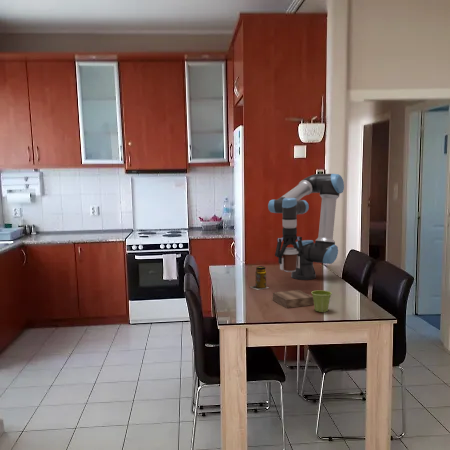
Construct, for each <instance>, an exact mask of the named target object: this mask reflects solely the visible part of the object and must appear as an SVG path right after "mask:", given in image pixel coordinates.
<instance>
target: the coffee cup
mask: <svg viewBox="0 0 450 450" xmlns="http://www.w3.org/2000/svg"><path fill="white" fill-rule="evenodd" d="M297 254H298V251H297V250H296V248H294V247H286V249H285V252H284V253H283V256H282V258H283V271H284V272H286V273H292V272H295V271H296V263H297Z"/></svg>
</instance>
